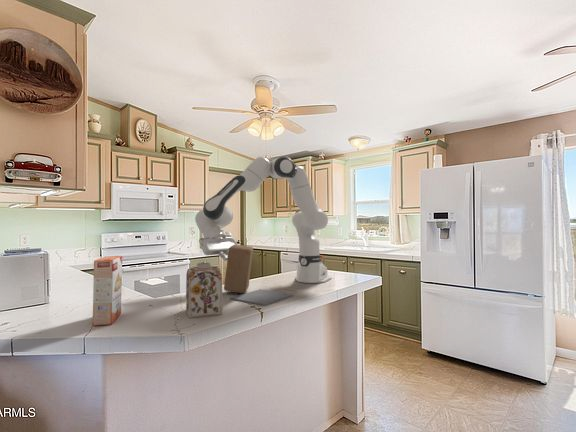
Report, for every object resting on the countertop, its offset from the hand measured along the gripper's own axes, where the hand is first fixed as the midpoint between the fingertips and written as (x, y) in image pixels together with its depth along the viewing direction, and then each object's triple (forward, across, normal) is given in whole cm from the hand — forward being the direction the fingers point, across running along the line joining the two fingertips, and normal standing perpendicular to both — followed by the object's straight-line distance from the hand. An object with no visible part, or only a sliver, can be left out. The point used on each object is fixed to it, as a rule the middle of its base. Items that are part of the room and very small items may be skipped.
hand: (228, 259), depth 149 cm
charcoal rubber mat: (+25, +1, -4) cm, 25 cm away
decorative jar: (+23, -28, -2) cm, 37 cm away
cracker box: (+10, -53, +12) cm, 55 cm away
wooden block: (+13, 0, +6) cm, 15 cm away
